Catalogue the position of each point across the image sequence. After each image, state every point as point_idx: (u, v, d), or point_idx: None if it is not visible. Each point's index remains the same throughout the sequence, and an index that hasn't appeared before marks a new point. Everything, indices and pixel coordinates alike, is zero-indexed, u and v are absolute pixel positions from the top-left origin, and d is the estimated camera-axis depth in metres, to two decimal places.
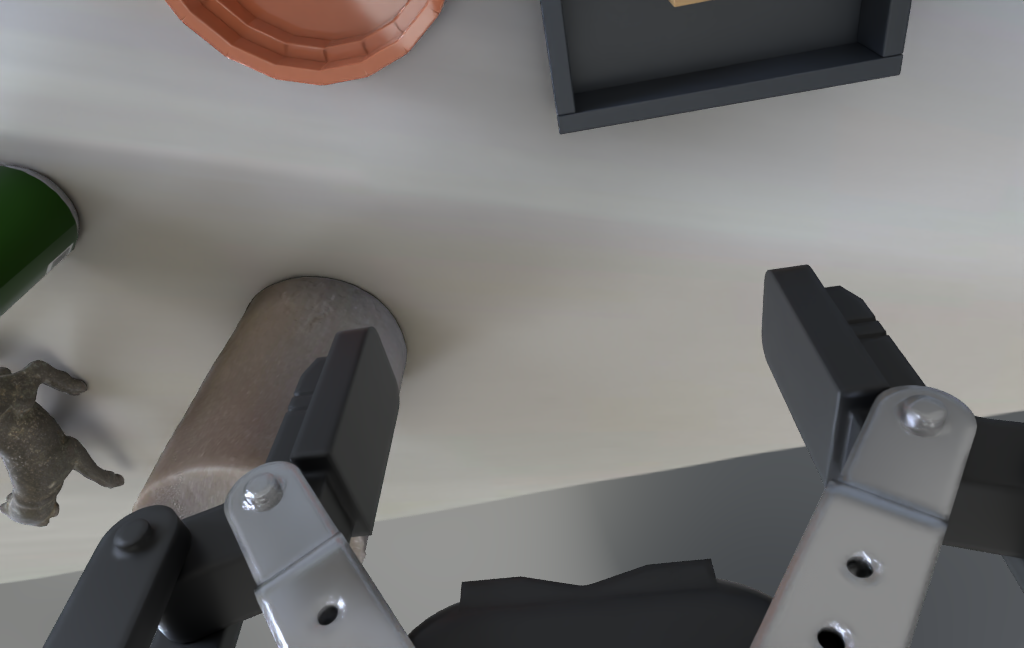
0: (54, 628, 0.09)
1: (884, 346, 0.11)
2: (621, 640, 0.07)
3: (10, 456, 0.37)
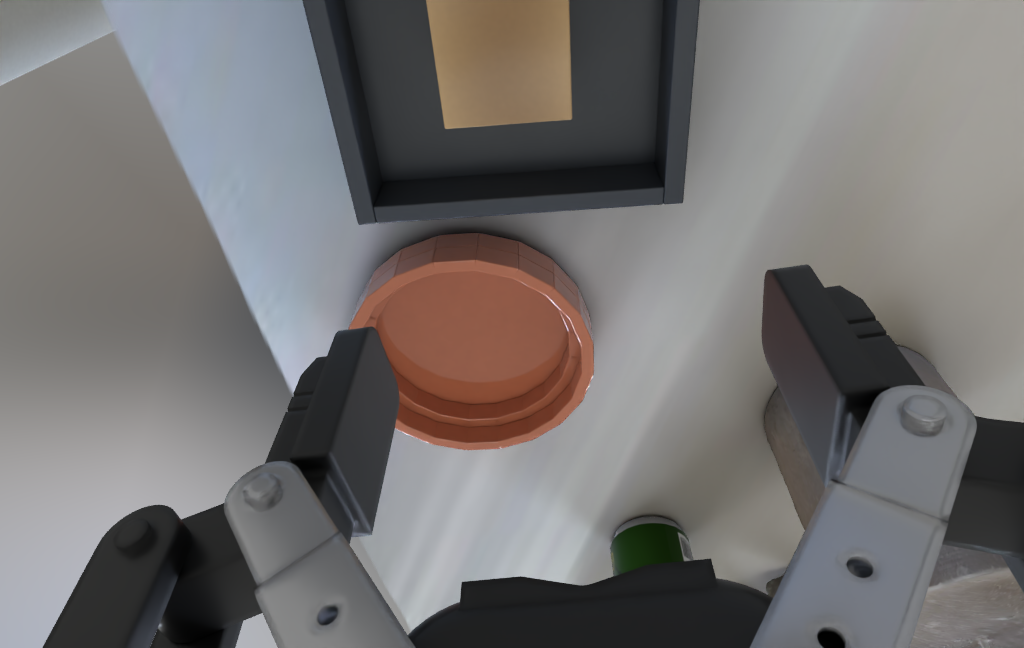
0: (53, 629, 0.09)
1: (884, 346, 0.11)
2: (622, 640, 0.07)
3: None
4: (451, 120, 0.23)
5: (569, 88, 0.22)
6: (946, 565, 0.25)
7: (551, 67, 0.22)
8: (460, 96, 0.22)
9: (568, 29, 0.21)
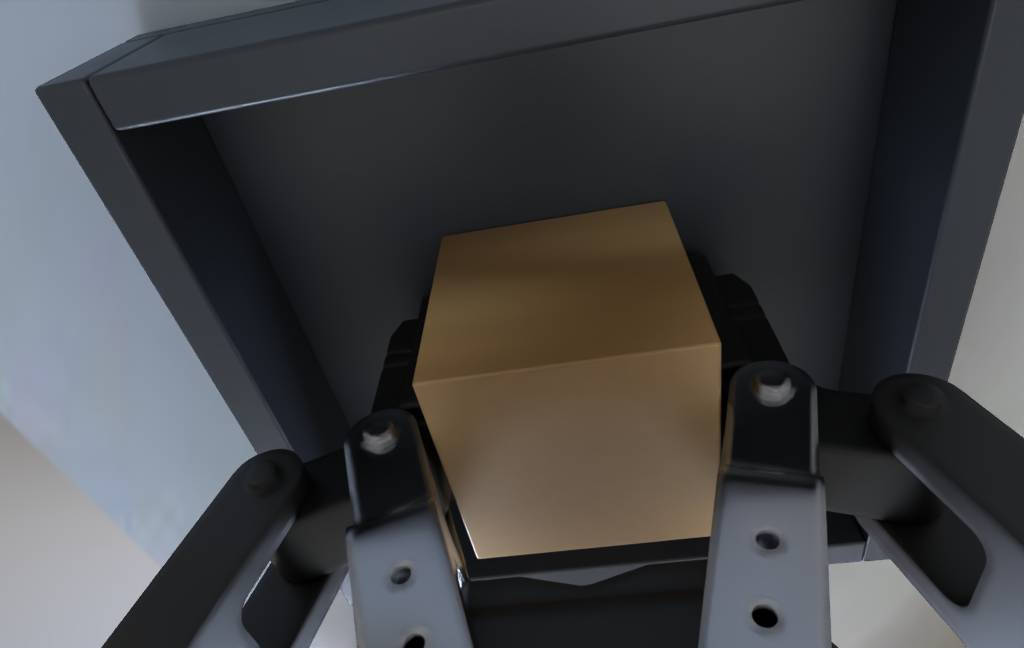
0: (180, 544, 0.09)
1: (761, 327, 0.12)
2: (621, 640, 0.07)
3: None
4: (488, 550, 0.12)
5: None
6: None
7: (680, 474, 0.11)
8: (501, 520, 0.12)
9: (718, 420, 0.10)
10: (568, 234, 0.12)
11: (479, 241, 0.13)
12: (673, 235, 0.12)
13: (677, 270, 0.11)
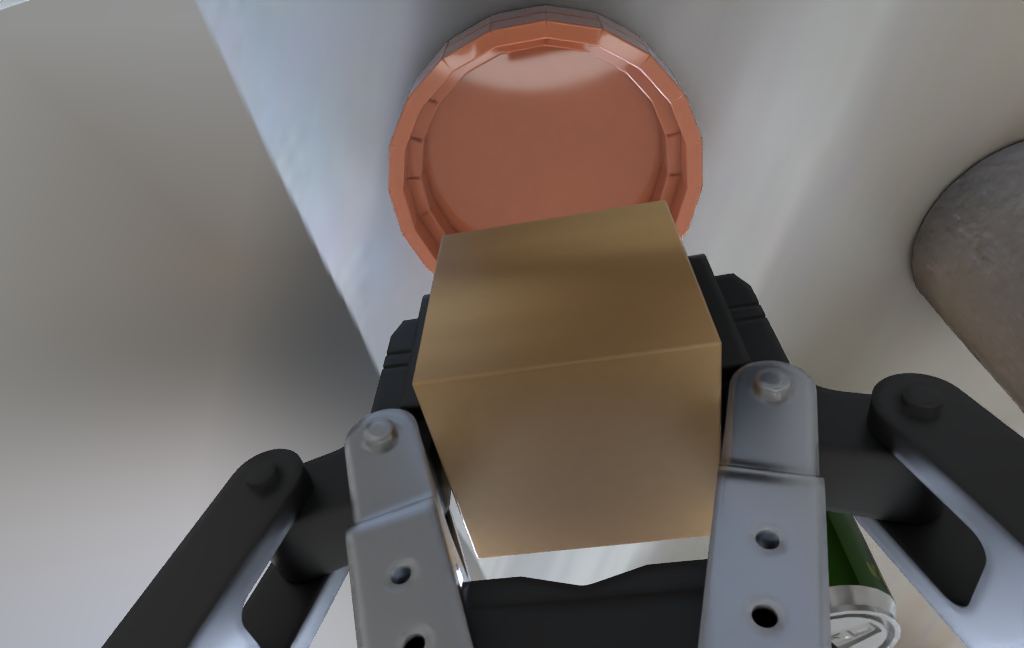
0: (180, 544, 0.09)
1: (761, 328, 0.12)
2: (621, 640, 0.07)
3: None
4: (488, 549, 0.12)
5: None
6: None
7: (680, 473, 0.11)
8: (501, 520, 0.12)
9: (718, 420, 0.10)
10: (568, 233, 0.12)
11: (479, 239, 0.13)
12: (673, 234, 0.12)
13: (677, 269, 0.11)
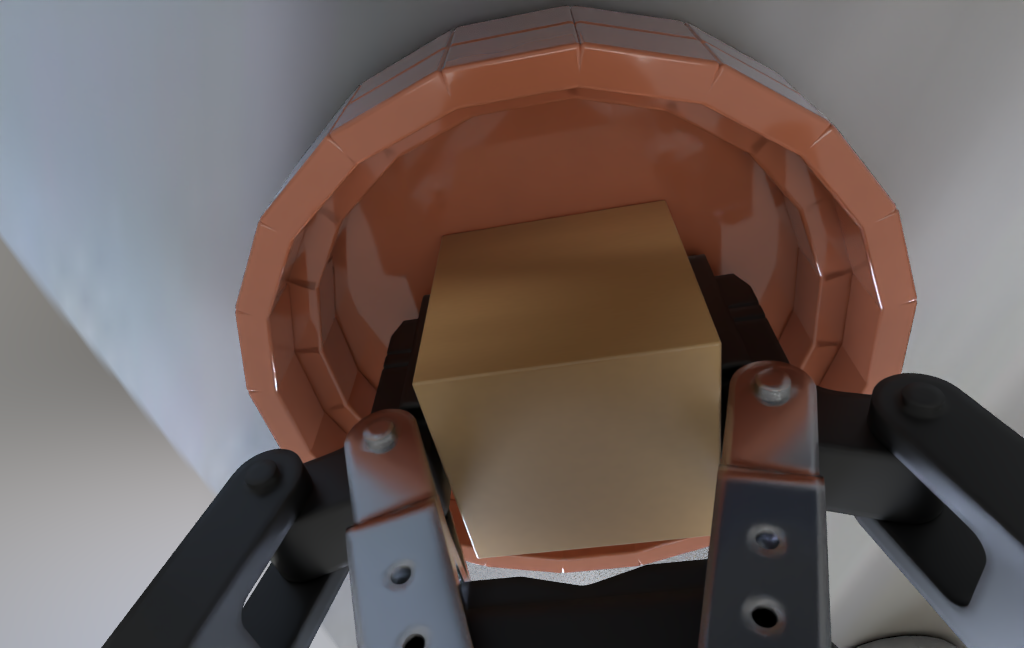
0: (180, 544, 0.09)
1: (760, 327, 0.12)
2: (621, 640, 0.07)
3: None
4: (488, 549, 0.12)
5: None
6: None
7: (679, 473, 0.11)
8: (501, 520, 0.12)
9: (718, 420, 0.10)
10: (568, 234, 0.12)
11: (478, 240, 0.13)
12: (673, 235, 0.12)
13: (677, 270, 0.11)
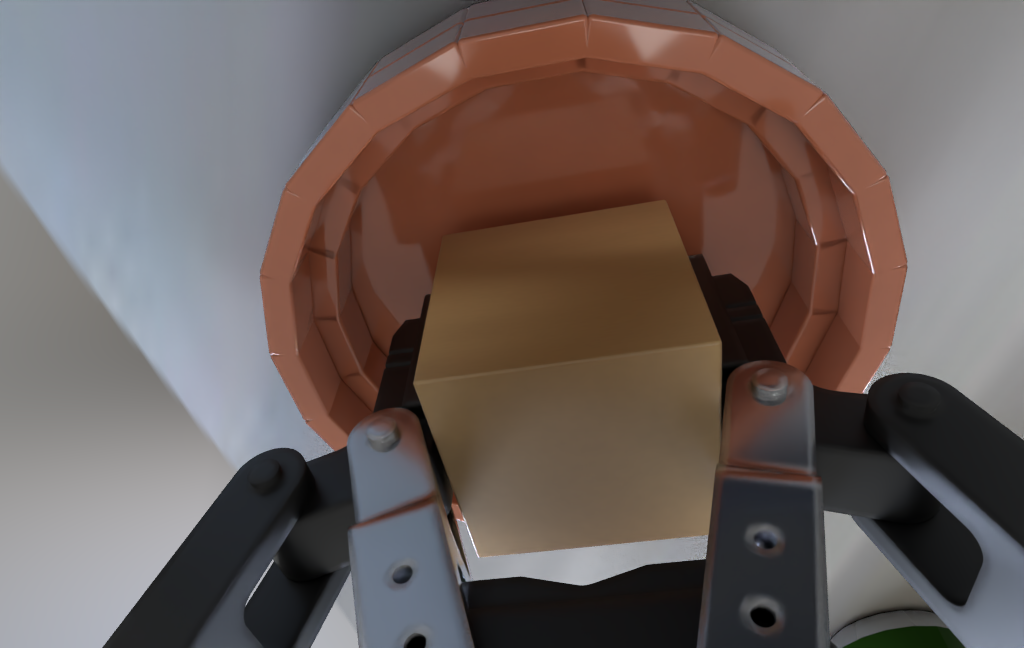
0: (183, 542, 0.09)
1: (758, 327, 0.12)
2: (621, 640, 0.07)
3: None
4: (488, 548, 0.12)
5: None
6: None
7: (680, 472, 0.11)
8: (502, 518, 0.12)
9: (718, 419, 0.10)
10: (569, 233, 0.12)
11: (479, 239, 0.13)
12: (674, 234, 0.12)
13: (678, 269, 0.11)
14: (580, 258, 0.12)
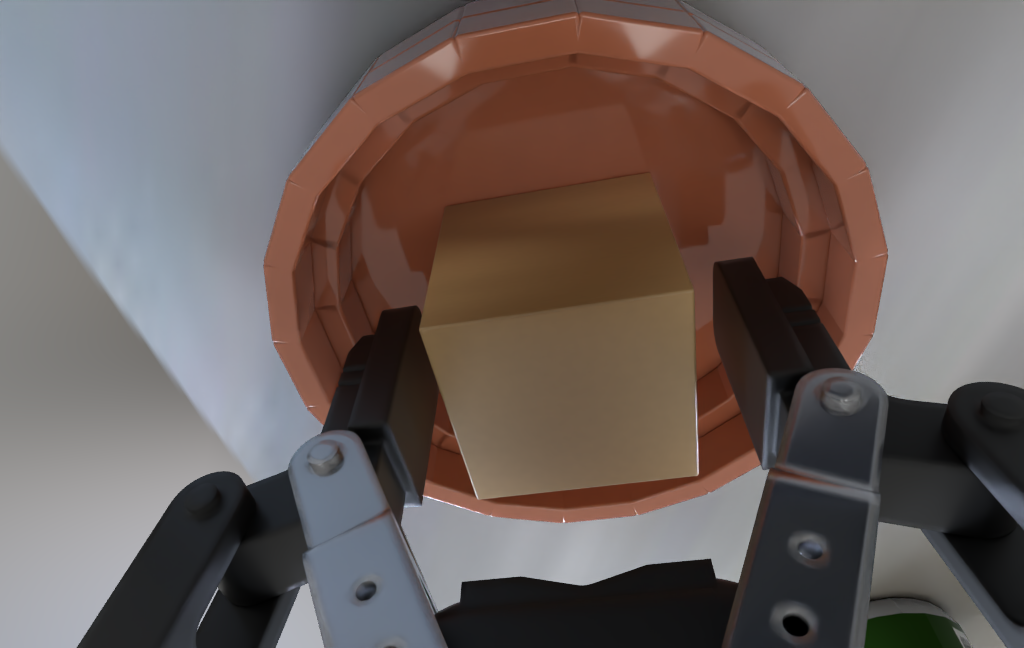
0: (121, 579, 0.09)
1: (817, 333, 0.11)
2: (621, 640, 0.07)
3: None
4: (487, 490, 0.13)
5: (694, 439, 0.12)
6: None
7: (660, 415, 0.12)
8: (499, 461, 0.13)
9: (693, 363, 0.11)
10: (560, 202, 0.13)
11: (479, 209, 0.14)
12: (656, 202, 0.13)
13: (658, 231, 0.12)
14: (570, 223, 0.13)
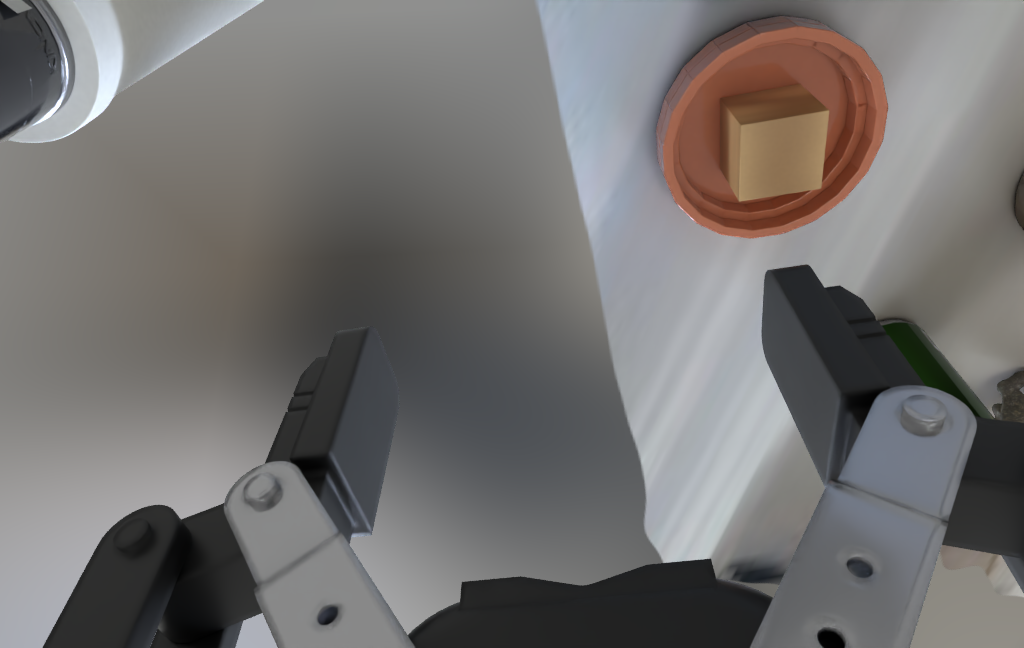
0: (53, 628, 0.09)
1: (884, 346, 0.11)
2: (622, 640, 0.07)
3: None
4: (744, 196, 0.37)
5: (822, 171, 0.36)
6: None
7: (812, 160, 0.35)
8: (752, 182, 0.36)
9: (825, 138, 0.35)
10: (769, 93, 0.37)
11: (736, 97, 0.37)
12: (806, 91, 0.36)
13: (811, 98, 0.35)
14: (777, 98, 0.36)
